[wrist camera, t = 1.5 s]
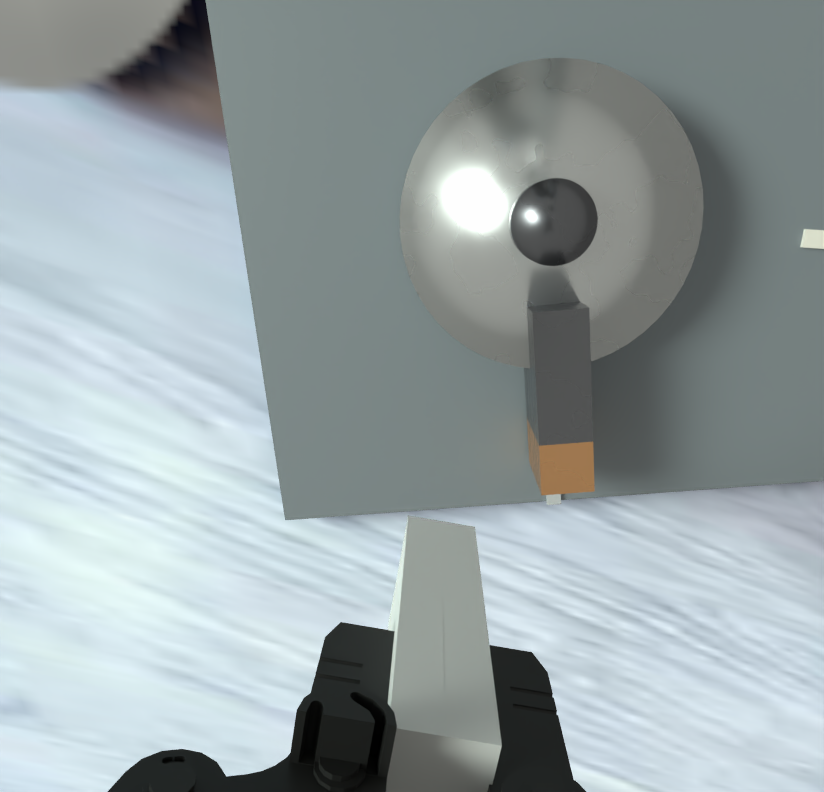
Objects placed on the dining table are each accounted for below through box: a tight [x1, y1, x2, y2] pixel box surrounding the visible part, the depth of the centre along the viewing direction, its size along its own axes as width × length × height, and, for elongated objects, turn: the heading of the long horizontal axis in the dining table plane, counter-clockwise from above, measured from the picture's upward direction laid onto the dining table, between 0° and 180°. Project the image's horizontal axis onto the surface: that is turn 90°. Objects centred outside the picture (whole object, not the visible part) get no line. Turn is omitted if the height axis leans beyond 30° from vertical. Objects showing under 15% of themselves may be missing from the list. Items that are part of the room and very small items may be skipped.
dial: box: [399, 58, 704, 495], centre depth 26 cm, size 16×11×4 cm
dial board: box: [206, 0, 824, 520], centre depth 28 cm, size 24×24×2 cm
